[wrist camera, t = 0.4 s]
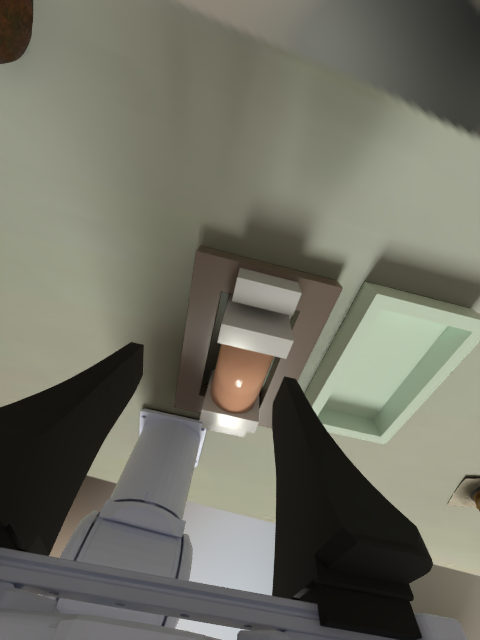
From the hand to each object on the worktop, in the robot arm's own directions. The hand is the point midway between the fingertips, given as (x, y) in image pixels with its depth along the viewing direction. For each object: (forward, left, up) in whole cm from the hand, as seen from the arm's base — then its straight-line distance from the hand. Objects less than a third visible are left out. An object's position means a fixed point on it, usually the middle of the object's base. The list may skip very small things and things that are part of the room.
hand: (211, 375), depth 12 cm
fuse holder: (-5, -2, -10) cm, 11 cm away
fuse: (-5, -2, -10) cm, 11 cm away
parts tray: (-3, -14, -10) cm, 18 cm away
